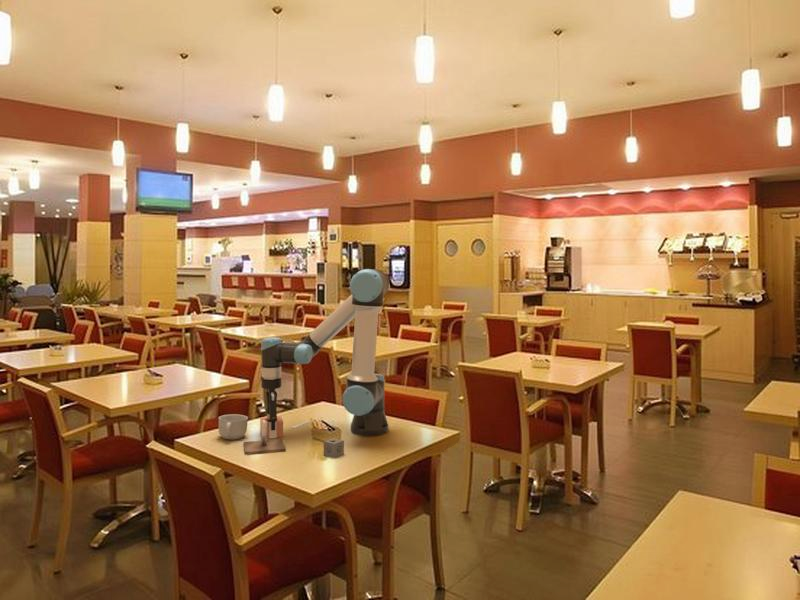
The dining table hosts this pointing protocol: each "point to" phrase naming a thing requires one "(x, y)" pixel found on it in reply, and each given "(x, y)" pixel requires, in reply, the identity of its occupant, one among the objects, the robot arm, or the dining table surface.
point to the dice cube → (333, 447)
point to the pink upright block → (279, 426)
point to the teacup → (232, 426)
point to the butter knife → (300, 424)
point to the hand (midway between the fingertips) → (271, 434)
